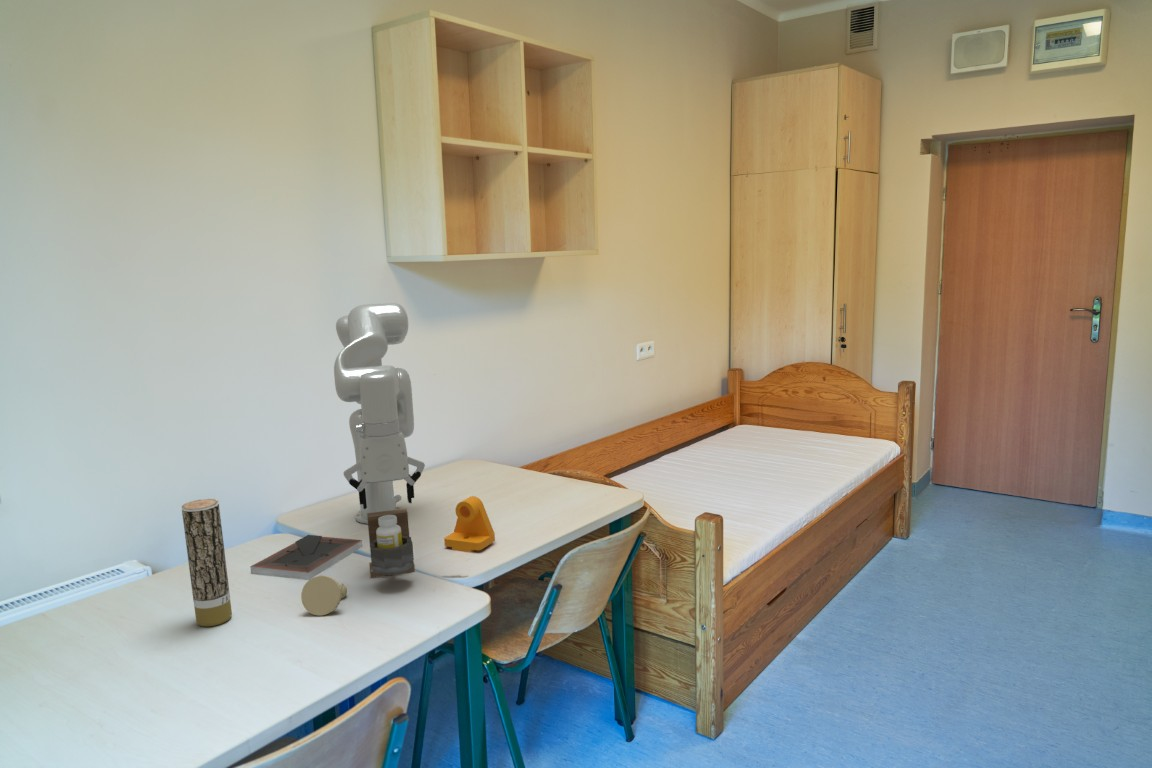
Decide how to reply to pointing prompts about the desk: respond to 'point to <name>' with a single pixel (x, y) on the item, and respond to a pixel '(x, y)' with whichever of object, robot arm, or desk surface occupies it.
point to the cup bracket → (390, 558)
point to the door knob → (322, 595)
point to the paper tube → (207, 562)
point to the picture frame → (306, 557)
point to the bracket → (471, 527)
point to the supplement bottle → (388, 532)
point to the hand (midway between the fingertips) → (387, 504)
